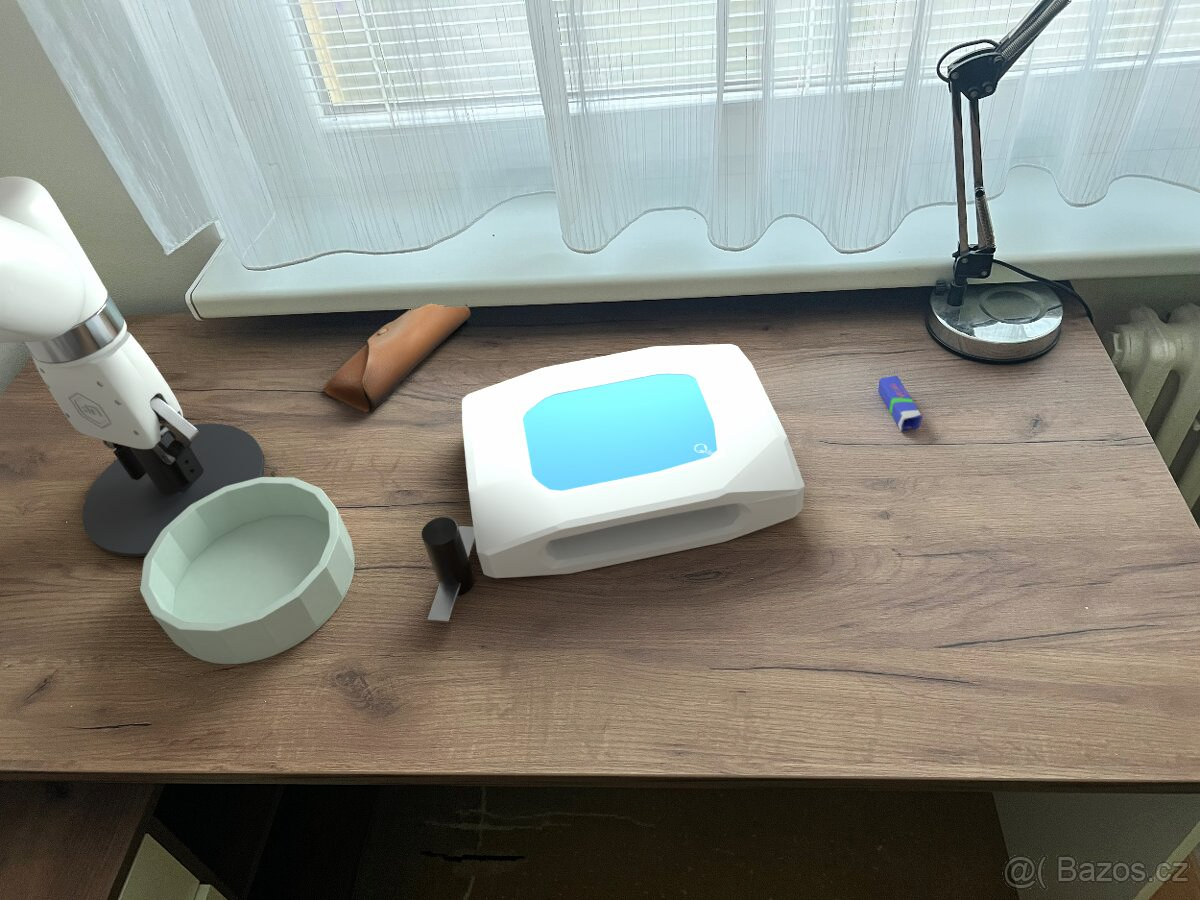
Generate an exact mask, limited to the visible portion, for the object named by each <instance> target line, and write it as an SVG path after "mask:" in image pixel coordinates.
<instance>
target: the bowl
mask: <svg viewBox="0 0 1200 900" xmlns="http://www.w3.org/2000/svg"><path fill="white" fill-rule="evenodd" d="M355 566H356V557H355V553H354V546H353V540H352V538H351V536H350V534H349V532H348V530H347V527H346V525H345V523H344V522H343V519H342V517H341V515H340V513H339V510H338V508H337V506H335V504H334V503H333V502H332V501H331V500H330V498H329V496H328V495H327V494H326V492H325V491H324V490H323V489H322V488H321V487H318V486H316V485H313V484H312V483H308V482H306V481H303V480H302V479H298V478H297V477H280V476H277V477H275V476H274V477H273V476H263V477H260V478H256V479H252V480H248V481H244V482H240V483H237V484H233V485H229V486H226V487H223V488H221V489H219V490H218V491H216V492H214V493H212V494H210V495H208V496H206V497H204V498H203V499H201V500H199V501H197V502H195V503H193V504H191V505H190V506H189V507H187V508H186V509H185V510H184V511H183V512H182V513H181V514H180V515H179V516H177V517H176V518H175V519H174V520H173V521H172V522H171V523H170V524H169V525H167V526H166V527H165V528H164V529H163V530H162V531H161V533H160V534H159V536H158V538H157V539H156V541H155V543H154V544H153V546H152V547H151V549H150V551H149V552H148V554H147V556H144V559H143V563H142V571H141V572H142V573H141V579H140V586H139V592H140V593H141V595H142V598H143V600H144V602H145V604H146V605H147V608H148V610H149V612H150V613H151V615H152V617H153V618H154V620H155V621H157V623H158V624H159V625H160V627H161V628H162V629H163V630H164V632H165V633H166V634H167V636H168V637H169V638H170V639H171V641H172V642H173V643H174V645H175V646H177V647H179V648H180V649H182V650H183V651H184V652H186V653H187V654H189V655H190V656H191V657H194V658H196V659H199V660H201V661H204V662H208V663H212V664H219V665H239V664H248V663H253V662H257V661H262V660H265V659H268V658H270V657H274V656H277V655H279V654H280V653H283V652H285V651H287V650H290V649H291V648H293V647H295V646H296V645H299V644H300V643H302V642H303V641H304V640H306V639H308V638H309V637H310V636H312V635H313V634H314V633H315V632H317V631H318V630H319V629H320V628H321V627H323V625H325V623H326V622H328V621H329V619H331V617H332V616H333V615H334V614H335V612H336V611H337V610H338V609H339V607H340V606H341V604H342V603H343V601H344V600H345V598H346V596H347V594H348V592H349V589H350V588H351V585H352V581H353V578H354V573H355Z"/></svg>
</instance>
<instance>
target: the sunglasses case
mask: <svg viewBox="0 0 1200 900" xmlns="http://www.w3.org/2000/svg"><path fill="white" fill-rule="evenodd" d="M430 303H431V304H429V303H427V304H425V305H424V304H423V305H421V306H422V307H420V308H417V309H412V308H410V309H411V310H410V309H408V310H407V311H406V312H404V313H403V314H401V315H399V316H398V317H397V318H396V319H394V320H392V321H391V322H388V323H386V324H385V325H383V326H382V327H380V328H379V329H378V330H377V331H375V332H374V334H372V335H371V336H370V337H369V338H368V339H367V341H366V344H365V345H364V346H363V347H362V348H360V350H358V351H357V352H355V354H354V355H352V356H351V357H350V358H349V359H347V361H346V362H344V364H343V365H342V366H341V367H340V368H338V370H337V371H336V372H335V373H334V374H333V375H332V376H330V377H329V378H328V380H327V381H326V383H325V384H324V385H323V387H322V390H323V392H324V394H325V395H327V396H329V397H331V398H332V399H334V400H336V401H338V402H341V403H343V404H345V405H347V406H349V407H351V408H353V409H355V410H357V411H361V412H363V413H366V414H369V413H372V412H373V411H374V410H375V408H377V407H380V405H381V404H382V403H383V402H384V401H385V400H386V399H387V398H389V396H390V394H392V392H393V391H394V390H395V389H397V387H398V386H399V385H400V384H401V382H403V381H404V380H405V379H406V378H407V377H408V376H409V374H410V373H412V371H413V370H414V369H415V368H416V367H418V365H420V364H421V363H422V362H423V361H424V360H425V359H426V358H428V356H430V354H431V353H432V352H434V350H435V349H436V348H438V346H440V345H441V344H442V343H443V342H444V341H446V340H447V338H449V336H450V335H451V334H453V333H454V332H455V331H456V330H457V329H458V328H459V327H460V326H462V324H464V322H466V321H467V320H468V319H469V318H470V317H471V309H470V307H469V306H468V307H444V306H445V305H437V304H432V302H430Z"/></svg>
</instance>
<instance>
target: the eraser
mask: <svg viewBox="0 0 1200 900" xmlns="http://www.w3.org/2000/svg"><path fill="white" fill-rule="evenodd" d="M877 389H878V390H877V391H878V394H879V396H880V398H881V399H882V401H883V403H884V404H885V406H886V408H887V409H888V411H889V413H890V415H891V417H892V418H893V420H894V422H895V423H896V426H897V427H898V429H899V430H900V432H902V431H908V430H918V429H919V428H920V426H921V423H922V419H923V416H922V414H921V412H920V411H919V409H918V408H917V405H916V404H915V402H914V400H913V399H912V397H911V396H910V394H909V392H908V390H907V389H906V387H905V386H904V384H903V382H902V380H901V379H900V377H899V376H898V375H891V376H885V377H881V378H880V379H879V381H878V387H877Z"/></svg>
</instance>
